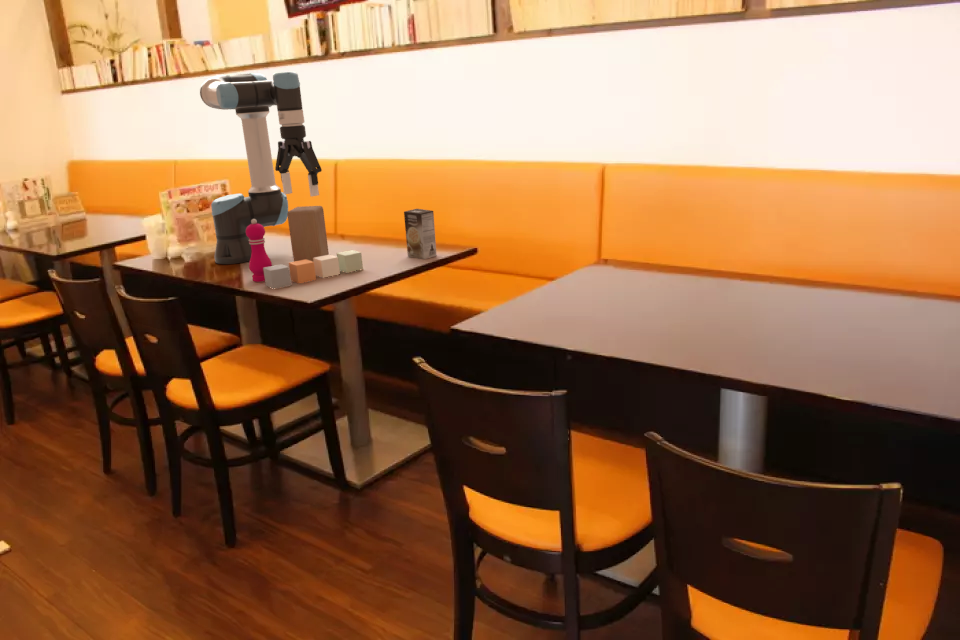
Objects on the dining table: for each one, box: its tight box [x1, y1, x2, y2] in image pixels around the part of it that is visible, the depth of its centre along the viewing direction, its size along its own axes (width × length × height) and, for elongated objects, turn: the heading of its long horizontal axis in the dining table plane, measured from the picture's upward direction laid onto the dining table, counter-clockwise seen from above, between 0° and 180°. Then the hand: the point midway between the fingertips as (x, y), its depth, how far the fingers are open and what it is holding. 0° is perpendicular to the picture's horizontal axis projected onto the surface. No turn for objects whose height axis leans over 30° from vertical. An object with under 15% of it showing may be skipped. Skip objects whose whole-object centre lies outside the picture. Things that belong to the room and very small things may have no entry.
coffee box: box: [403, 208, 437, 260], centre depth 267 cm, size 9×6×16 cm
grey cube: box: [263, 263, 292, 290], centre depth 241 cm, size 6×6×6 cm
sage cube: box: [336, 249, 364, 274], centre depth 255 cm, size 6×6×6 cm
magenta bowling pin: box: [246, 219, 273, 283], centre depth 248 cm, size 7×7×20 cm
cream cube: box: [313, 254, 341, 279], centre depth 251 cm, size 6×6×6 cm
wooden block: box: [287, 205, 330, 262], centre depth 263 cm, size 10×10×20 cm
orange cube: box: [288, 259, 317, 284], centre depth 246 cm, size 6×6×6 cm
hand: (301, 194), depth 241 cm, fingers open, 13 cm apart
